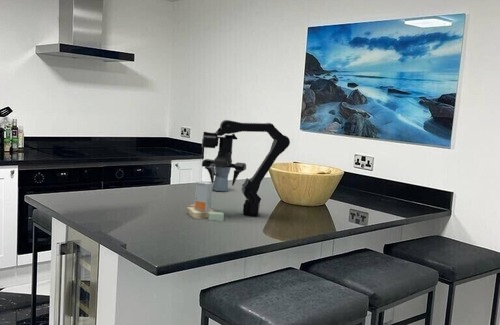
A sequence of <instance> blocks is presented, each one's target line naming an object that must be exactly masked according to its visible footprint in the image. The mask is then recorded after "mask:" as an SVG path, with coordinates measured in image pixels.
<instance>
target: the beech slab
mask: <svg viewBox="0 0 500 325" xmlns="http://www.w3.org/2000/svg"><path fill="white" fill-rule="evenodd" d="M209 212H217V211H216V210H214V209H213V208H211V210H209V211H206V212H205V211H201V210H196V209H194V207H186V214H188V215H189V216H190V217H191V218H192V219H194V220H197V219H198V220H199V219H202V220H203V219H204V220H205V219H208V213H209Z"/></svg>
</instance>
